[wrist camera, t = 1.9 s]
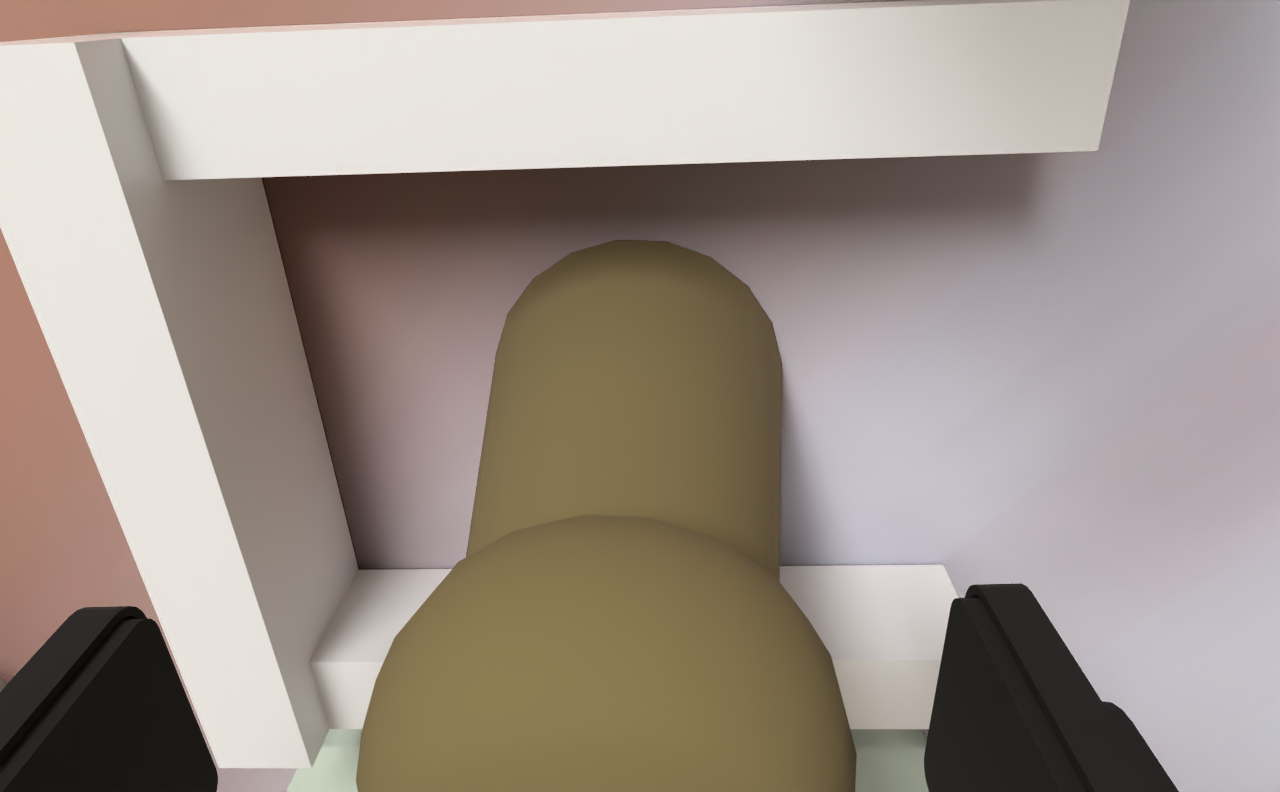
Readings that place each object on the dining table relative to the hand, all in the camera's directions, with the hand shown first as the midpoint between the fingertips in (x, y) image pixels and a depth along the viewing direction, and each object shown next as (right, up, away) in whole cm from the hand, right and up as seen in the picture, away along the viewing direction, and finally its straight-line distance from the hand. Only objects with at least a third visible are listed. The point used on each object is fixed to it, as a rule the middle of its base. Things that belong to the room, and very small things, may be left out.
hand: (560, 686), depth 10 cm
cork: (+1, +4, +7) cm, 9 cm away
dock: (+1, +4, +7) cm, 8 cm away
